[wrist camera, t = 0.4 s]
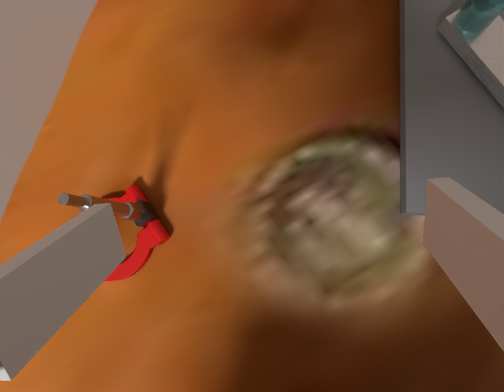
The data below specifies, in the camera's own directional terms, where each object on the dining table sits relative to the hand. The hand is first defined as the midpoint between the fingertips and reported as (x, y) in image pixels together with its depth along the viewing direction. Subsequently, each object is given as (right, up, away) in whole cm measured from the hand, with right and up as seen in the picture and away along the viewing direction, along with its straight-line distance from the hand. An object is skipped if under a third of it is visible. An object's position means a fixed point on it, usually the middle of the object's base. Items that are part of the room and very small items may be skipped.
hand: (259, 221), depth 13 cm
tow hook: (-14, -3, +20) cm, 25 cm away
